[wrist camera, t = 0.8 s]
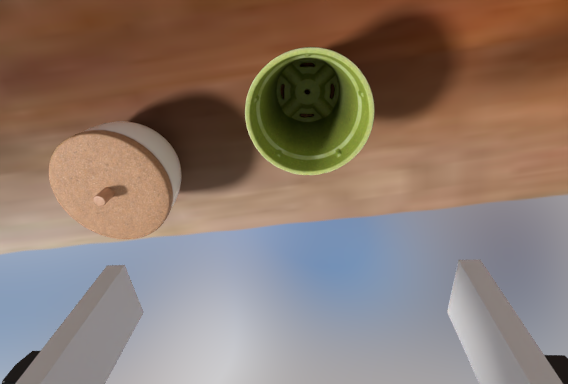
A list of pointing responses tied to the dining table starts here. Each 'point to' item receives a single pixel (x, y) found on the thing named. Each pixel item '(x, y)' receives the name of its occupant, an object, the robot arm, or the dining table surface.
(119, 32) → the dining table surface
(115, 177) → the lidded jar
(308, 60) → the plant pot
